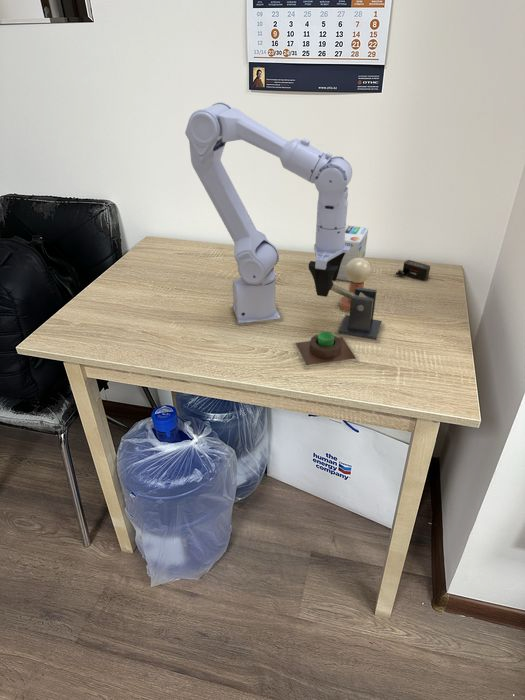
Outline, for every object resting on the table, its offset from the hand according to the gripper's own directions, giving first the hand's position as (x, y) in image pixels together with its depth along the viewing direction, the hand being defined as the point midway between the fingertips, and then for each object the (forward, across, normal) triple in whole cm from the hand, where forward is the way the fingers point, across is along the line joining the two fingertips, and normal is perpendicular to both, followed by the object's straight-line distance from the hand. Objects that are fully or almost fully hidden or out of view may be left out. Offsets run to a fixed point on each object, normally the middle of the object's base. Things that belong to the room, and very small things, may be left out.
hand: (326, 287), depth 108 cm
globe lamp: (+9, +10, -5) cm, 14 cm away
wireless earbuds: (+9, +31, -15) cm, 35 cm away
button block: (+9, -11, -3) cm, 14 cm away
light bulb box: (+9, +28, +1) cm, 29 cm away
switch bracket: (+9, 0, -8) cm, 12 cm away
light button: (+7, -11, -3) cm, 13 cm away
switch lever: (+2, 0, -3) cm, 4 cm away
